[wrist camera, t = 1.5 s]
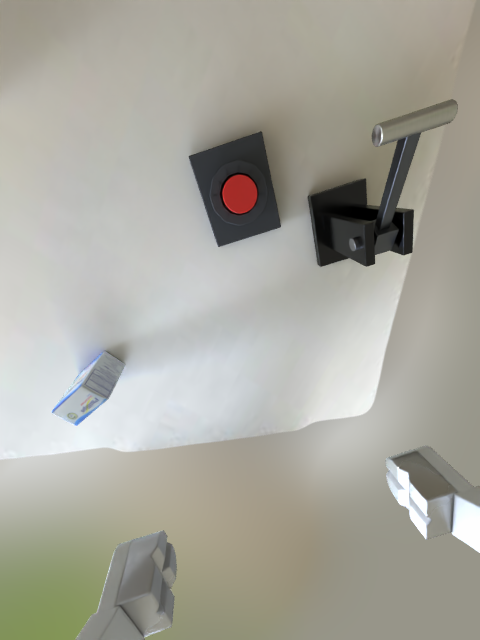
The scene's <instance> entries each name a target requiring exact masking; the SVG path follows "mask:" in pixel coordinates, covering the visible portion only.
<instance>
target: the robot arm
mask: <svg viewBox="0 0 480 640" xmlns="http://www.w3.org/2000/svg"><path fill="white" fill-rule="evenodd" d="M386 466H387V468H388V469H389V471H388V473H387V482H388V485H389V487H390V489H391V491H392V493H393V495H394V496H395V498H396V499H397V501H398V502H399V503H400V504H401V505H402V506H404V507H406V508H408V509H409V512H410V518H411V520H412V521H413V522H414V524H415V525H416V526H417V528H418V529H419V531H420V532H421V533H422V535H423V536H424V537H425V539H426V540H427V539H431V538H434V537H437V536H441V535H444V534H447V533H451V532H452V534H453V535H454V536H456V537H457V538H459V539H460V540H462V541H463V542H465V543H466V544H468V545H469V546H471V547H472V548H473V549H475V550H476V551H478V552H479V553H480V486H476V487H474V486H473V485H471V484H470V483H469V482H468V481H467V480H466V479H465V478H464V477H463V476H462V475H461V474H459V473H458V472H457V471H456V470H455V469H454V468H453V467H452V466H451V465H450V464H448V463H447V462H446V461H445V460H444V459H443V458H442V457H441V456H440V455H438V454H437V452H435V451H434V450H433V449H432V448H431V447H429V446H422V447H419V448H416V449H413V450H409V451H406V452H404V453H400V454H397V455H394V456H391V457H388V458H387V459H386ZM176 570H177V564H176V554H175V550H174V547H173V546H172V544H170V543H168V542H167V535H166V533H165V532H164V530H163V531H160V532H156V533H153V534H150V535H147V536H143V537H140V538H137V539H133V540H130V541H127V542H124V543H121V544H118V546H117V548H116V549H115V551H114V554H113V558H112V561H111V565H110V568H109V572H108V575H107V579H106V583H105V586H104V589H103V593H102V597H101V600H100V603H99V607H98V610H97V613H95V614H92V615H91V617H90V618H89V620H88V621H87V623H86V625H85V626H84V627H83V629H82V630H81V632H80V634H79V635H78V637H77V638H76V640H145V638H144V637H146V636H149V635H151V634H154V633H156V632H159V631H162V630H164V629H167V628H170V627H172V621H173V609H174V595H173V593H172V591H171V587H172V585H173V583H174V581H175V579H176Z"/></svg>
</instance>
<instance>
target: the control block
mask: <svg viewBox="0 0 480 640" xmlns="http://www.w3.org/2000/svg"><path fill="white" fill-rule="evenodd" d="M189 159H190V162H191V166H192V169H193V172H194V175H195V178H196V181H197V184H198V187H199V190H200V193H201V196H202V199H203V202H204V205H205V208H206V211H207V214H208V217H209V220H210V223H211V227H212V230H213V233H214V236H215V239H216V242H217V245H218V247H220V246H223V245H226V244H229V243H233V242H236V241H239V240H242V239H245V238H248V237H251V236H255V235H258V234H261V233H264V232H267V231H270V230H273V229H277V228H280V227H281V224H280V219H279V214H278V209H277V204H276V200H275V195H274V190H273V185H272V180H271V175H270V170H269V165H268V160H267V155H266V150H265V146H264V141H263V136H262V132H258V133H255V134H252V135H250V136H247V137H244V138H241V139H238V140H235V141H232V142H229V143H226V144H223V145H220V146H217V147H215V148H212V149H209V150H206V151H203V152H200V153H197V154H194V155H191V156H189ZM235 175H245V176H247V177H249V178H250V179H251V180H252V181H253V182H254V183H255V185H256V188H257V200H256V203H255V205H254V206H253V207H252V209H250V210H249V211H247V212H245V213H235V212H233V211H231V210H230V209H229V208H228V207H227V206H226V204H225V202H224V200H223V188H224V185H225V183H226V182H227V181H228V180H229V179H230V178H231V177H233V176H235Z"/></svg>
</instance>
